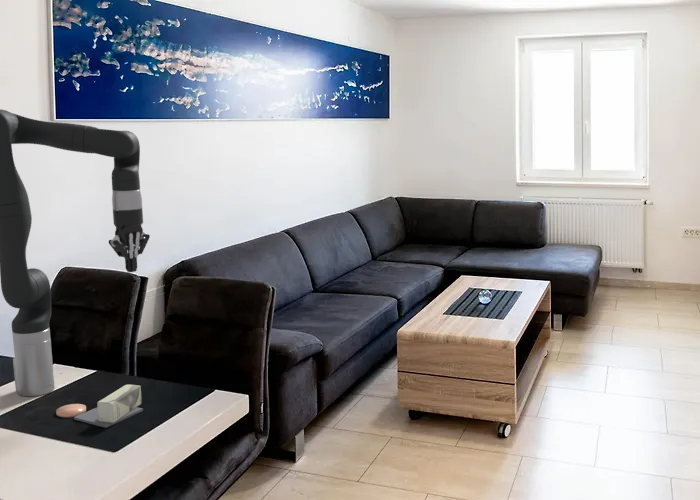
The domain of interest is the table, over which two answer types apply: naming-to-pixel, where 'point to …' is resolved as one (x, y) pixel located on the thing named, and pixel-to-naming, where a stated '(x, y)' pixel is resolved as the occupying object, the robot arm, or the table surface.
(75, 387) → the table surface
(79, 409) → the glossy peach dome
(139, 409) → the mat
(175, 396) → the table surface
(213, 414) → the table surface
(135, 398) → the box
